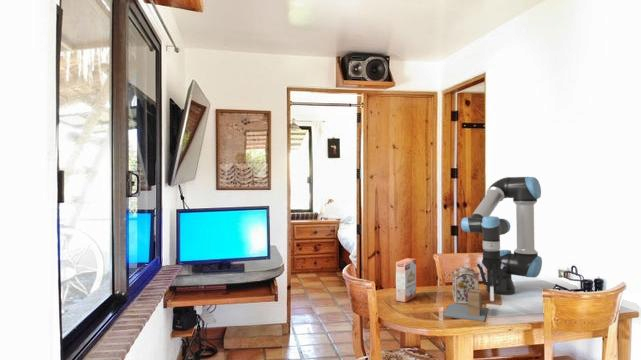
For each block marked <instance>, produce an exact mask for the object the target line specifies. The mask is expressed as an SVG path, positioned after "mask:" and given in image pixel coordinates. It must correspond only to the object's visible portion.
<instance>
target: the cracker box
mask: <svg viewBox="0 0 641 360" xmlns="http://www.w3.org/2000/svg"><path fill="white" fill-rule="evenodd" d="M416 297H417V259H416V258H409V257H406V258H404V259H401V260H398V261H396V262H395V301H396V302H399V303H400V302H401V303H407V302H409V301H411V300H412V299H414V298H416Z"/></svg>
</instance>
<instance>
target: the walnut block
mask: <svg viewBox="0 0 641 360" xmlns="http://www.w3.org/2000/svg"><path fill="white" fill-rule="evenodd" d="M482 301H483V300H482V289H470V290H469V292H468V304H467V305H468V315H475V316H480V314H481V311H482V307H483V305H482V303H483V302H482Z"/></svg>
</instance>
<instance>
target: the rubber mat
mask: <svg viewBox="0 0 641 360" xmlns="http://www.w3.org/2000/svg"><path fill="white" fill-rule="evenodd" d="M445 309H446V310H445V311H444V313H443V314H442V317H445V318H446V317H447V318H452V319H459V320H466V321H467V320H468V321H473V320H474V322H480V321H481V323H485V321H486V317H487V314H488V312H489V307H484V306H482V311H481V314H480V316H475V315H468V304H456V303H450V304H448V307H447V308H445Z"/></svg>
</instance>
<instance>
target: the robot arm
mask: <svg viewBox="0 0 641 360" xmlns="http://www.w3.org/2000/svg"><path fill="white" fill-rule="evenodd" d="M541 197H542V187H541V184H540V181H539V180H538V179H537V177H534V176H512V177H510V176H506V177H503V178H500V179H498V180H496V181H495V182H493V183H492V184H491V185H490V186H489V187H488V189H487V190H486V194H485V196H484V197H483V199H482V200H481V202H480V203H479V205H478V206H477V207H476V208H475V210H474V211H473V213H472V214H471V215H470V217H469V216H467V217H462V219H461V221H460V227H461V230H462V232H465V233H470V234H482V249H483V250H482V260H481V261H480V262H478V263H477V264H476V266H477V268H478V269H479V274H480V276H481V280H482V285H484V286H486V287H485V290H486V291H487V294H489V301H491V302H494V301H495V295H503V296H508V295H514V294H515V293H516V287H515V285H514V281H513V278H512V275H513V276H518V277H519V276H520V277H526V278H537V277H538V276H539V275H540V273H541V270H542V267H543V259H542V257H541V256H540V255H539V253H538V251H537V250H536V249H535V205H536V203H537V202H538V199H540V198H541ZM505 199H512V202H513V203H514V204H515V208H516V211H515V213H516V214H515V215H516V216H515V217H516V220H515V221H516V248H515V249H514V250H513V253H512V250H511V249H501V236H503V235H505V234H508V233H509V232H510V231H511V223H510V222H509V220H508V219H505V218H500V217H498V216H493V215H492V213H493V212H494V211H495V208H496V207H497V206H498V204H499V203H500V202H502V201H504V200H505ZM483 266H484V267H485V269H486V274H485V272H484V269H483V268H484V267H483ZM485 275H486V276H485Z"/></svg>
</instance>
